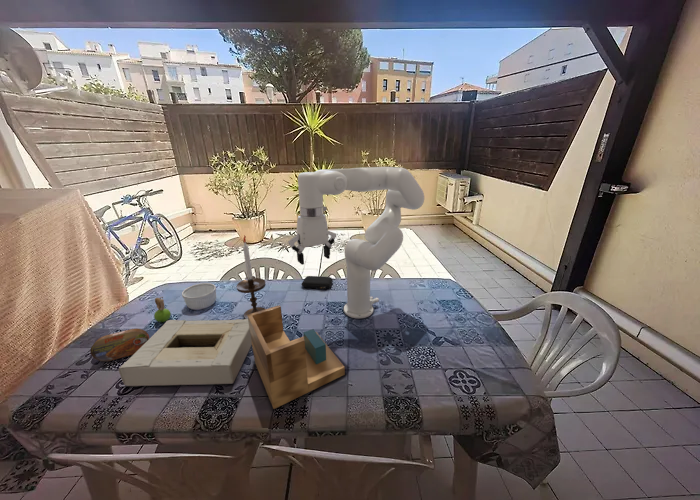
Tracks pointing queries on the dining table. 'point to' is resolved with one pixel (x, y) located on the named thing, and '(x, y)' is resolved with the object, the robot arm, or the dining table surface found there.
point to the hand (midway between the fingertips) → (314, 260)
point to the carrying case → (317, 282)
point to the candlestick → (250, 283)
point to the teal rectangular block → (315, 346)
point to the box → (190, 354)
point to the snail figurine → (161, 311)
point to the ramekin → (200, 296)
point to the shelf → (287, 359)
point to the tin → (119, 344)
